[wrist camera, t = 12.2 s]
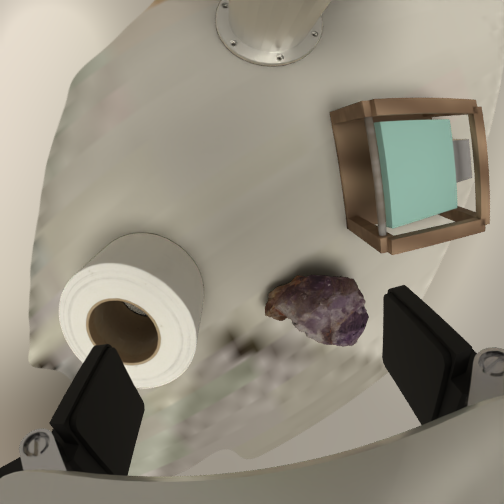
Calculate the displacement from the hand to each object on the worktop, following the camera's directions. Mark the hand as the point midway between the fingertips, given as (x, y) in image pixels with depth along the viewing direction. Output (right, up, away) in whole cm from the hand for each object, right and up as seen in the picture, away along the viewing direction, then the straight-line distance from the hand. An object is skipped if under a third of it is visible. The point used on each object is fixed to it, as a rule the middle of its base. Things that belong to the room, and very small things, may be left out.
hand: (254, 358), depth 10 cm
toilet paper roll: (-14, -1, +30) cm, 33 cm away
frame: (+18, +15, +26) cm, 35 cm away
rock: (+8, -2, +31) cm, 32 cm away
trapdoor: (+18, +12, +19) cm, 29 cm away
